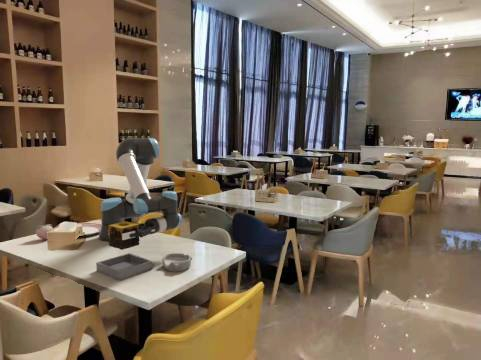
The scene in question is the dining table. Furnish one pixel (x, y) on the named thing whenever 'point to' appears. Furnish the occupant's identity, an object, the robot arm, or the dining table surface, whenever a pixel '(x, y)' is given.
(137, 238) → the candle
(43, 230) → the decorative fruit
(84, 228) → the dinner plate
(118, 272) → the tray
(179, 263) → the dish
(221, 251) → the dining table surface
